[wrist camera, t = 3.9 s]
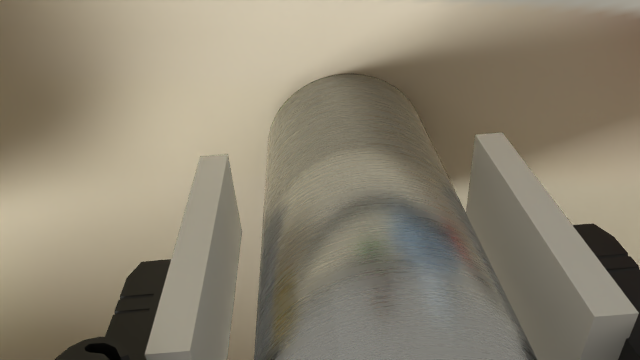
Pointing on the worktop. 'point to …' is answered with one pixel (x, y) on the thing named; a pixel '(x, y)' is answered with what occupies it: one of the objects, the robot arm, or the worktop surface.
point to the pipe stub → (370, 239)
